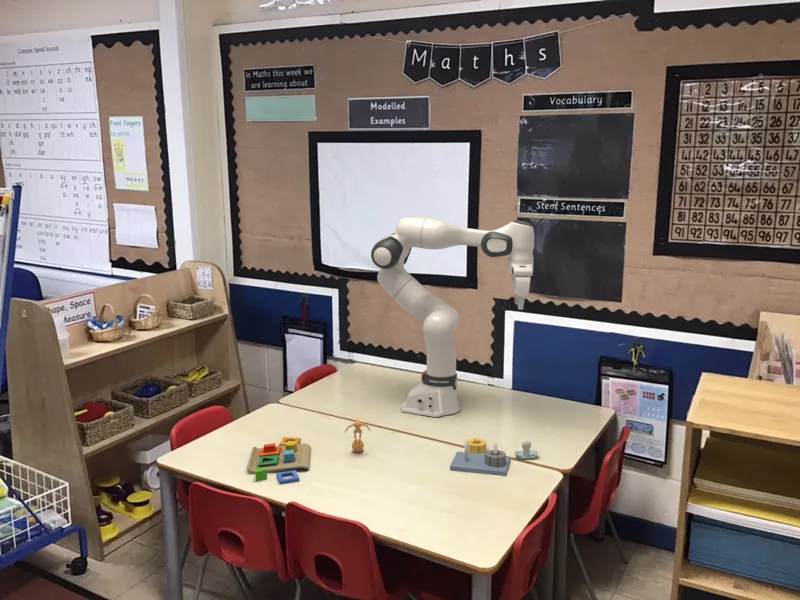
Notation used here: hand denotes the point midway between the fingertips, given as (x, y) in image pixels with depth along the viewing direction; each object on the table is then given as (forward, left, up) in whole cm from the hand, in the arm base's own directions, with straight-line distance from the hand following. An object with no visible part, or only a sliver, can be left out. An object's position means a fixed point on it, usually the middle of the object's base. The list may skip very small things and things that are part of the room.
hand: (518, 306), depth 248 cm
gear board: (-7, -40, -43) cm, 59 cm away
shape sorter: (-69, -52, -44) cm, 97 cm away
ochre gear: (-10, -29, -43) cm, 53 cm away
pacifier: (+6, -30, -43) cm, 53 cm away
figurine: (-47, -40, -43) cm, 75 cm away
